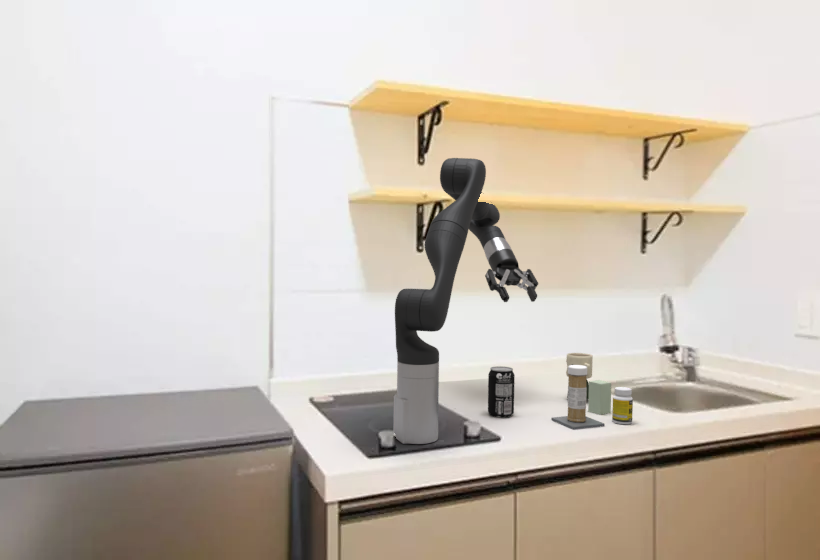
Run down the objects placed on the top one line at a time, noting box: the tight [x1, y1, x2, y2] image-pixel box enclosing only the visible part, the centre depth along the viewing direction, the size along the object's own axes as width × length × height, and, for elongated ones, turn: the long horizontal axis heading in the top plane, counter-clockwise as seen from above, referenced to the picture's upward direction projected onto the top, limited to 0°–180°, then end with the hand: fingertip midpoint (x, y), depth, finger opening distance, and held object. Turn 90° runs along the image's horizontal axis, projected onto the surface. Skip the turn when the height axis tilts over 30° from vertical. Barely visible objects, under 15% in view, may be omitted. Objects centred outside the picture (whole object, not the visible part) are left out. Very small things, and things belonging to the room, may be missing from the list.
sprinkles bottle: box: [567, 365, 587, 422], centre depth 157 cm, size 5×5×14 cm
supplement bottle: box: [611, 386, 634, 425], centre depth 158 cm, size 5×5×8 cm
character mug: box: [565, 352, 593, 401], centre depth 181 cm, size 11×7×13 cm, turn 14°
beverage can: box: [487, 365, 516, 419], centre depth 164 cm, size 7×7×12 cm
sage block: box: [587, 379, 612, 416], centre depth 168 cm, size 4×4×8 cm
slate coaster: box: [550, 415, 606, 430], centre depth 157 cm, size 9×9×1 cm
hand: (520, 300), depth 173 cm, fingers open, 8 cm apart
